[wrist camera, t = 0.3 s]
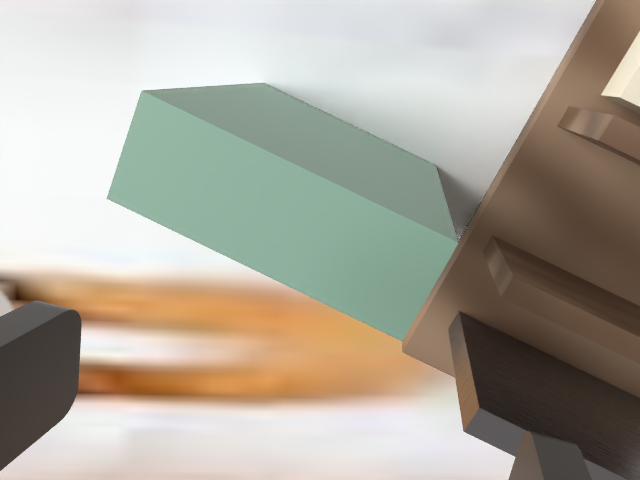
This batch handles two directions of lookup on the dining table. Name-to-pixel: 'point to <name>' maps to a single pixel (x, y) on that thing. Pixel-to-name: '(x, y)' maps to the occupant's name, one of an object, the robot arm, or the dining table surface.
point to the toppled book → (626, 79)
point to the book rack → (558, 224)
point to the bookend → (541, 400)
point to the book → (291, 196)
